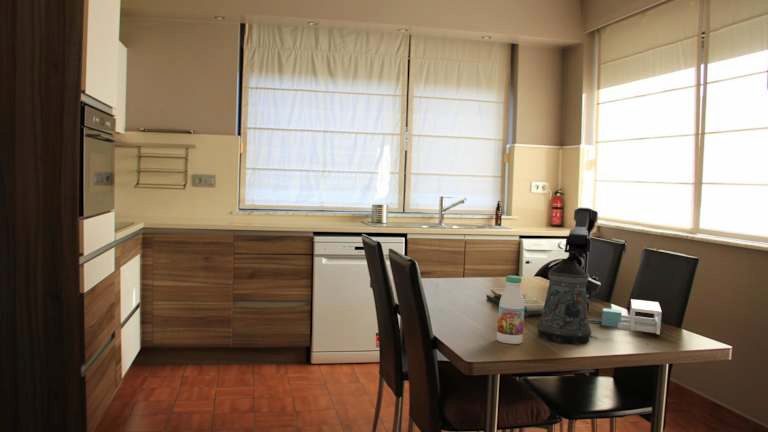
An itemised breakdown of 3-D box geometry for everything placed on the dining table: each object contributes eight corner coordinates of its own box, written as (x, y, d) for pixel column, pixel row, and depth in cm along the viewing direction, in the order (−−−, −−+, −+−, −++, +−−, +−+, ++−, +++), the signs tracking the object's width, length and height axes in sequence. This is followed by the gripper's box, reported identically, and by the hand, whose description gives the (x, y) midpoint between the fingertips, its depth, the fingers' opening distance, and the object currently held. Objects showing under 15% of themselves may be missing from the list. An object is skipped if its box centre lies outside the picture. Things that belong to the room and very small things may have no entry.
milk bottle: (493, 337, 196) (498, 273, 194) (518, 338, 196) (522, 274, 195) (500, 344, 188) (504, 278, 187) (525, 345, 189) (530, 279, 187)
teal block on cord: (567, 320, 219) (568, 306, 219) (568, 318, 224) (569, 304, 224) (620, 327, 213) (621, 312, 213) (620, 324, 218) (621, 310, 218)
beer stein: (553, 345, 190) (559, 263, 188) (523, 329, 209) (528, 254, 207) (601, 344, 194) (607, 264, 193) (567, 329, 213) (572, 255, 211)
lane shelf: (592, 329, 214) (594, 303, 213) (594, 319, 231) (595, 295, 230) (659, 338, 207) (661, 311, 206) (656, 327, 223) (658, 302, 223)
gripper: (599, 274, 209) (596, 321, 209) (600, 268, 226) (597, 311, 227) (564, 271, 212) (561, 316, 213) (568, 265, 230) (565, 307, 231)
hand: (572, 312), depth 221 cm, fingers open, 9 cm apart
